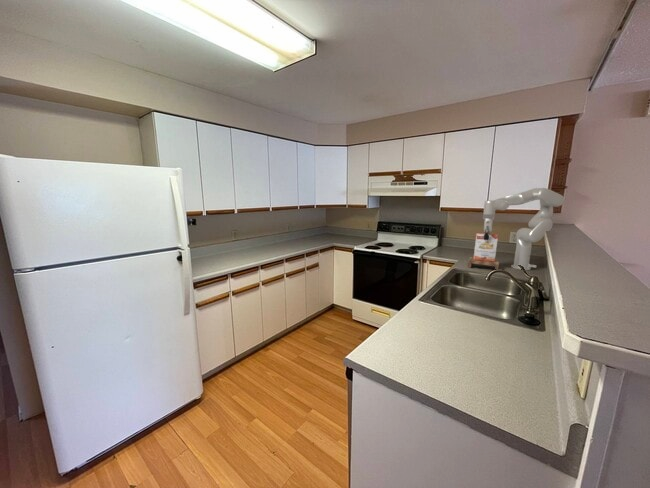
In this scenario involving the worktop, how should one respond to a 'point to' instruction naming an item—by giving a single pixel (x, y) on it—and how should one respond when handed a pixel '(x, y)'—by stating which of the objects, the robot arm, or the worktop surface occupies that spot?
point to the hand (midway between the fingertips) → (486, 238)
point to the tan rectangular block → (482, 262)
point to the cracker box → (485, 247)
